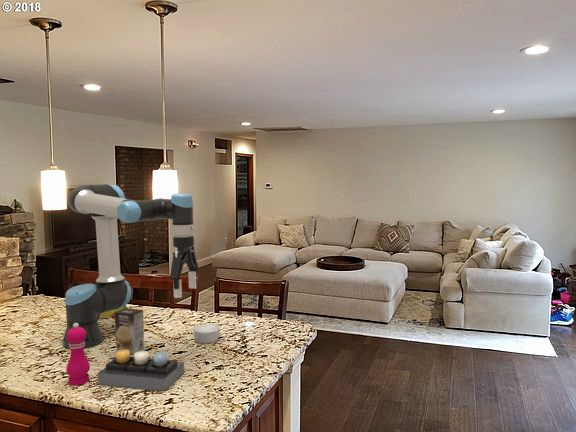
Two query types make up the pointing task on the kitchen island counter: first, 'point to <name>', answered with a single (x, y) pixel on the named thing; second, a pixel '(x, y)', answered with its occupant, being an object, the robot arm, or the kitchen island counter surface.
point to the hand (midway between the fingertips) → (185, 292)
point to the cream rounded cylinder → (141, 358)
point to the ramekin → (206, 333)
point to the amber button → (122, 356)
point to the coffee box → (129, 330)
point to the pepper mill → (77, 356)
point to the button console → (141, 374)
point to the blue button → (160, 359)
